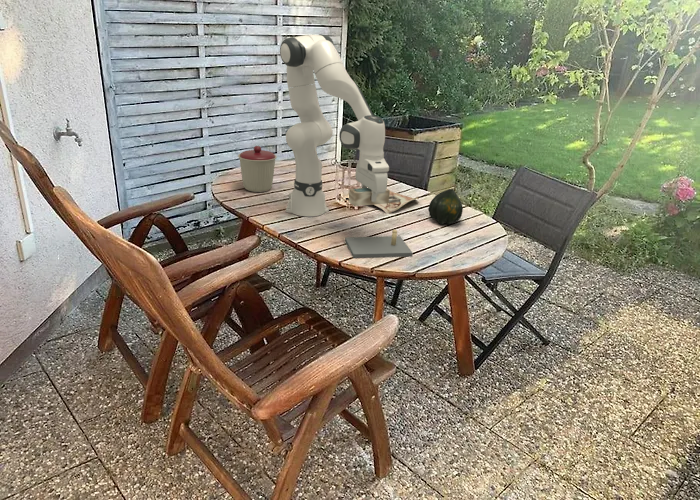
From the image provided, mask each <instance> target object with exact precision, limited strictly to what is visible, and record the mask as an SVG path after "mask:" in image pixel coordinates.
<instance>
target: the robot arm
mask: <svg viewBox="0 0 700 500" xmlns="http://www.w3.org/2000/svg"><path fill="white" fill-rule="evenodd" d="M279 55H280V58H281V61H282V63H283V64H284V65H285V66H286V83H287V90H288V94H289V100H290V101H289V102H290V107H291V109H292V110H294V112H296V114H297V115H298V117H299V121H300V122H298V123H295V124H294V125H293V126H291V127H289V128H288V129H287V131H286V132H285V141H286V144H287V145H288V147H289V148H290V149H291V150H292V154H293V156H294V160H295V161H294V162H295V178H294V182H293V187H294V188H293V190H292V191H291V193H288V199H289V200H288V202H287V204H286V208H285V212H286V213H289V214H290V213H291V214H293V215H297V216H298V217H299V216H301V217H318V216H321V215H323V214H326V213H328V212H329V211H330V209H329V207H327V205H326V193H325V192H324V190H323V185H324V184H323V180H322V176H323V175H322V173H323V162H322V161H321V159H320V158H319V156H318V153H317V147H319V146H323V145H325V144H327V142H329V141H330V139H331V138H332V136H333V127H332V124H331V123H330V122H329V121H327V119H326V118H325V116H324V113H323V111H322V108H321V106H320V103H319V98H318V92H317V86H316V81H317V83H318V85H319V87H320V89H322V91H323V92H324V93H326V94H328V95H330V96H332V97H336V98H339V99H341V100H343V101H344V102H346V103H347V104H348V105H349V106H350V107H351V109H352V111H353V113H354V115H355V117H356V119H357V120H356V121H353V122H349V123H346V124H344V125H342V127H341V128H340V130H339V134H338V135H339V137H338V138H339V142H340V144H341V145H342V146H343V148H345V149H346V150H358V151H359V158H358V162H357V164H356V167H355V176H354V178H355V180H356V181H357V182H358V183H359V184H361V187H362V188H367V187H368V188H369V189H371V190H372V196H370V200H371V201H372V202H375V201H376V197H377V195H378V194H380V193H385V192H386V189H388V172H389V171H390V166H389V164H388V163H387V161H386V159H385V158H384V157H385V151H384V147H385V146H384V145H385V142H386V125H385V121H384V120H383V118H381V117H380V116H376V115H375V114H374V113H373V112H372V109H371V107H370V106H369V104H368V101H367V100H366V98H365V96H364V94H363V92H362V91H361V89H360V87H359V86H358V85H357V83H356V82H355V81H354V80H353V79H352V77H351V76H350V75H349V73H348V71H347V70H346V67H345V65H344V62H343V60H342V58H341V56H340V54H339V52H338V50H337V49H336V47H335V44H334V41H333V39H332V38H331V36H330V35H326V34H323V33H321V34H304V35H299V36H298V35H297V36H295V37H294V36H291V37H288V38H285V39H283V40H282V41H281V44H280V46H279ZM315 78H316V79H315ZM315 80H316V81H315Z"/></svg>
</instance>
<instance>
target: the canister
mask: <svg viewBox="0 0 700 500" xmlns="http://www.w3.org/2000/svg"><path fill="white" fill-rule="evenodd" d="M237 157H238V159H239V165H240V173H241V179H242V185H243V187H244V189H245V190H246V191H249V192H252V193H253V192H254V193H263V192H267V191H270V190H271V189H272V186H273V181H274V174H275V166H276V159H277V158H278V157H277V155H276V154H275V153H274V152H271V151H268V150H264V149H262V147H261V146H259V145H256V146H254V147H253V149H249V150H245V151H244V150H243V151H241V152H240V153H238V155H237Z"/></svg>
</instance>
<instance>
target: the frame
mask: <svg viewBox="0 0 700 500" xmlns="http://www.w3.org/2000/svg"><path fill="white" fill-rule="evenodd" d="M390 191H391V190H390V189H388V188H387V189H386V192H385V193H380V194H378V195H377V197H376V201H375V202H372V201H371V200H370V196H372V190H371V189H369V188H361V187H357V189H356V188H349V190H348V193H349V198H348V203H350V204H351V205H352V206H353V207H361V206H372V205H374V206H375V204H386V203H394V202H400V200H401V199H399V198H398V197H396V196H389V194H390ZM389 199H392V200H389Z"/></svg>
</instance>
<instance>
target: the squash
mask: <svg viewBox="0 0 700 500" xmlns="http://www.w3.org/2000/svg"><path fill="white" fill-rule="evenodd" d="M427 210H428V215H429V216H430V218H432V219H433V220H435V221H437V222H438V224H440V225H443V224H445V225H451V224H452V223H456V222H458V221H459V220H460V219H461V217H462V216H463V210H464V208H463V203H462V201H461V199H460V197H459V196H458V194H457V192H456V191H455V190H454V188H450V189H449V188H448V189H446V190H443V191H441V192H439V193H438V194H436V195H435V196H434V197H433V198H432V199H431V201H430V202H429V204H428V209H427Z"/></svg>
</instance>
